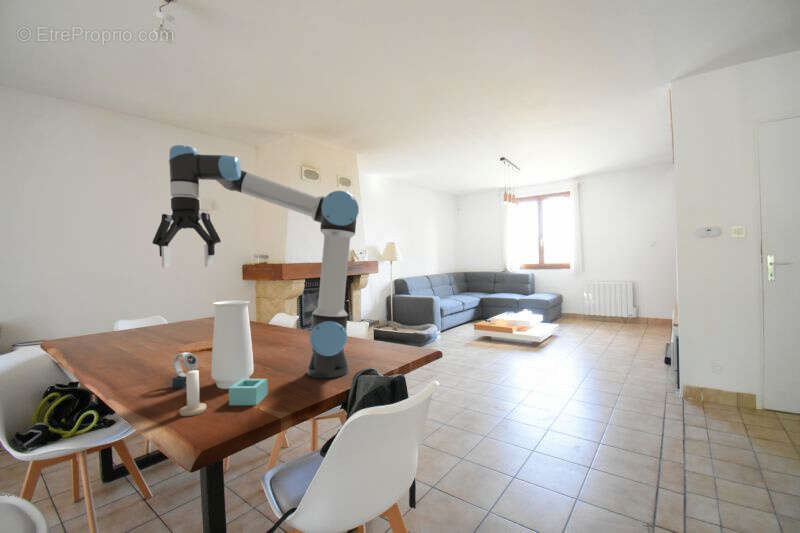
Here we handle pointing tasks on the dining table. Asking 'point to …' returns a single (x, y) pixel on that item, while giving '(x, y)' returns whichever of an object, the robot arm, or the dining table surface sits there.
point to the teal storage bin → (248, 392)
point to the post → (192, 395)
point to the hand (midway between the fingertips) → (187, 266)
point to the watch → (188, 361)
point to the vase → (231, 343)
